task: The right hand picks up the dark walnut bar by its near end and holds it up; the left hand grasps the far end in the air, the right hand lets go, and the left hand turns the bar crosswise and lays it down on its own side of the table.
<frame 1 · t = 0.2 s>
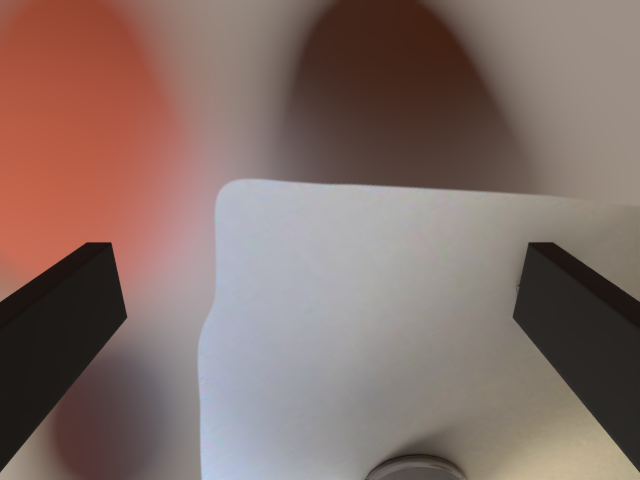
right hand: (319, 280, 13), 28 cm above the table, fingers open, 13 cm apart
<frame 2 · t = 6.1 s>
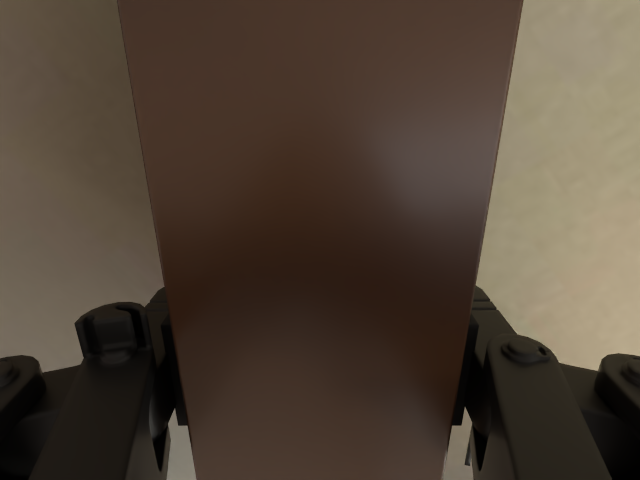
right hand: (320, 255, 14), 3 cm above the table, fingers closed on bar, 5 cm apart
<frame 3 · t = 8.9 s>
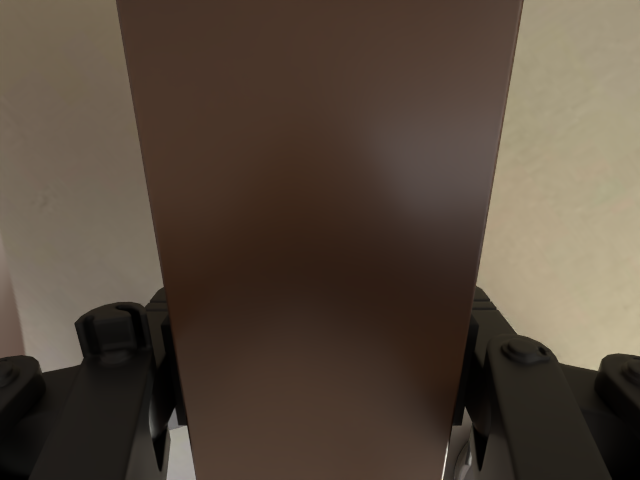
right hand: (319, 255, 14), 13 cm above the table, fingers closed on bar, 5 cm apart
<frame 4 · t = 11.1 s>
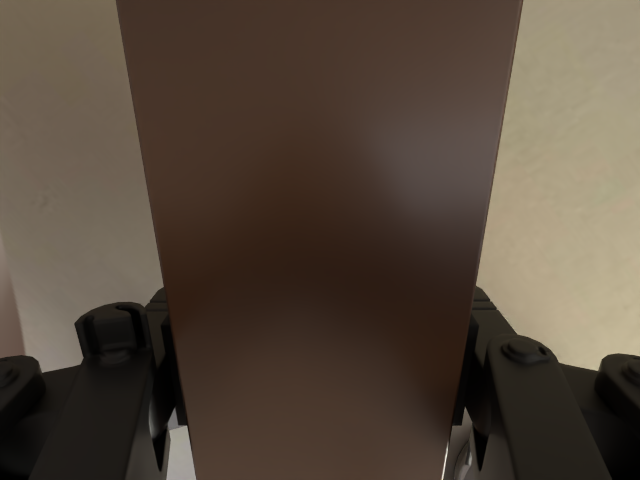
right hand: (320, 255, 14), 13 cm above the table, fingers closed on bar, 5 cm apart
when the right hand's fingers open (13 cm above the table, at t = 11.9 s): bar stays where it is, held by the left hand.
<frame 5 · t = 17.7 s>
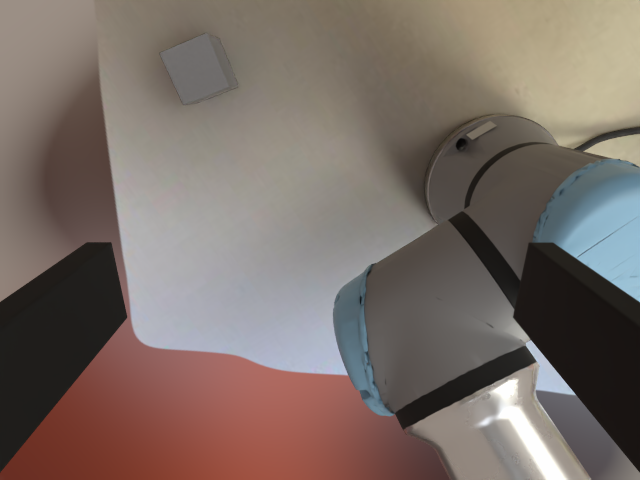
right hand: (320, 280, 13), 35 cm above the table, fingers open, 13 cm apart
grey block: (208, 71, 42), on the table
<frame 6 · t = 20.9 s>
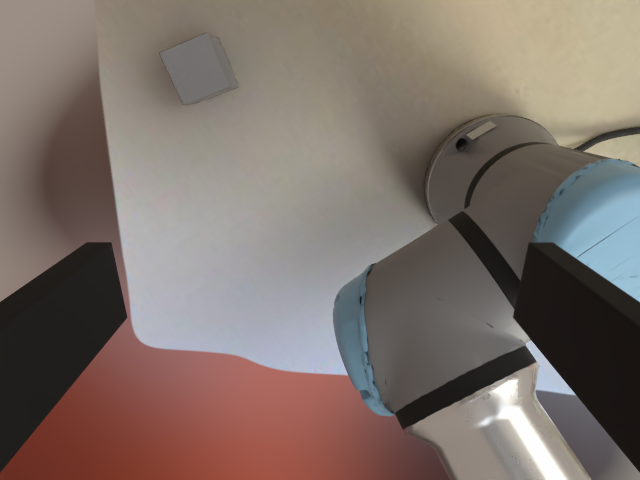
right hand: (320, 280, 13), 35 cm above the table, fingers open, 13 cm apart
grey block: (208, 71, 42), on the table
when the left hand's fingers open (1 cm above the table, at t = 24.2 s): bar stays where it is, on the table.
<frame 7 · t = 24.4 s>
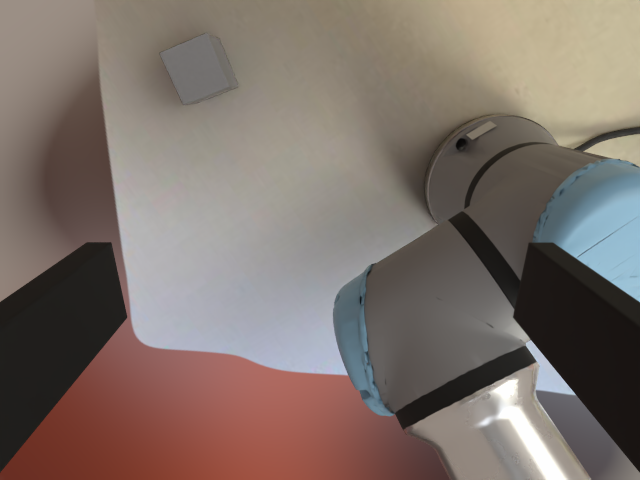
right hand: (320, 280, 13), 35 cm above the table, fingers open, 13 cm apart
grey block: (208, 71, 42), on the table
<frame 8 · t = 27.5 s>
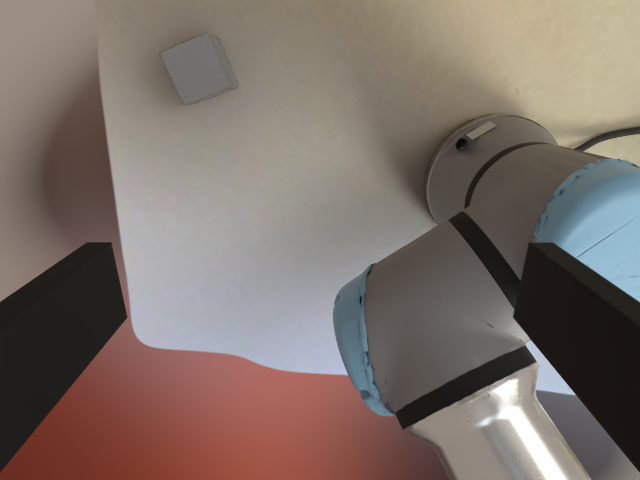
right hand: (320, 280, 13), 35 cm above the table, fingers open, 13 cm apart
grey block: (208, 71, 42), on the table
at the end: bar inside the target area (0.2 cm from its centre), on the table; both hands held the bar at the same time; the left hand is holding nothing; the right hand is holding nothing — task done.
